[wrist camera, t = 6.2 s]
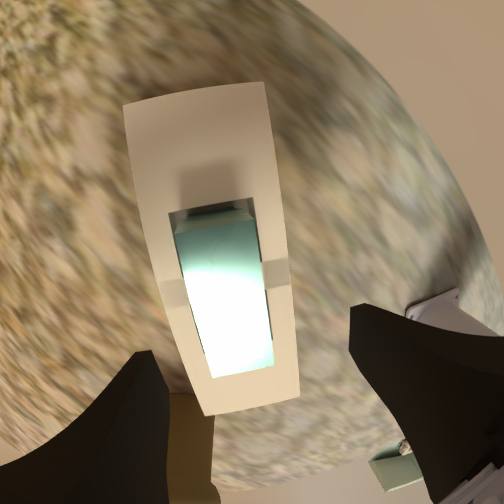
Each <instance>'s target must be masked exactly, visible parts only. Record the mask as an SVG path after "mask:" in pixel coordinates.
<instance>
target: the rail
mask: <svg viewBox="0 0 504 504" xmlns="http://www.w3.org/2000/svg"><path fill="white" fill-rule="evenodd" d="M123 114H124V123H125V131H126V139H127V146H128V152H129V159H130V165H131V171H132V177H133V182H134V188H135V193H136V198H137V203H138V208H139V213H140V217H141V222H142V226H143V231H144V235H145V239H146V243H147V247H148V251H149V255H150V259H151V263H152V267H153V270H154V274H155V278H156V281H157V285H158V288H159V291H160V295H161V298H162V301H163V305H164V308H165V311H166V314H167V317H168V321H169V324H170V327H171V330H172V333H173V336H174V338H175V341H176V344H177V347H178V350H179V353H180V355H181V358H182V361H183V364H184V366H185V369H186V371H187V374H188V377H189V379H190V382H191V384H192V387H193V389H194V392H195V394H196V397H197V399H198V401H199V404H200V406H201V408H202V411H203V413H204V415H205V416H211V415H217V414H223V413H229V412H234V411H239V410H244V409H249V408H254V407H259V406H263V405H267V404H271V403H276V402H280V401H283V400H287V399H291V398H295V397H298V396H300V388H299V373H298V359H297V345H296V333H295V321H294V310H293V299H292V288H291V278H290V268H289V259H288V250H287V241H286V232H285V224H284V216H283V207H282V200H281V192H280V184H279V177H278V170H277V162H276V155H275V148H274V142H273V135H272V128H271V122H270V116H269V109H268V103H267V97H266V91H265V85H264V81H261V82H248V83H237V84H228V85H220V86H213V87H206V88H199V89H193V90H188V91H182V92H177V93H172V94H167V95H163V96H158V97H154V98H150V99H145V100H141V101H138V102H134V103H130V104H127V105H123ZM231 206H234V207H235V209H239V208H243V209H244V210H245V211H246V212H247V213H248V214H249V215H251V216H252V217H253V218H254V222H255V229H256V236H257V243H258V249H259V256H260V263H261V270H262V277H263V284H264V291H265V298H266V305H267V312H268V319H269V326H270V334H271V341H272V348H273V355H274V362H275V365H273V366H268V367H264V368H260V369H255V370H251V371H246V372H241V373H236V374H231V375H226V376H221V377H215V378H213V377H212V374H211V370H210V367H209V364H208V361H207V358H206V355H205V351H204V348H203V345H202V341H201V338H200V335H199V331H198V328H197V324H196V321H195V317H194V313H193V310H192V306H191V302H190V299H189V295H188V291H187V287H186V283H185V279H184V275H183V271H182V267H181V263H180V259H179V254H178V250H177V246H176V241H175V237H174V233H175V230H176V228H177V226H178V223H179V221H180V220H181V219H186V218H187V215H188V214H193V213H199V212H204V211H209V210H214V209H220V208H225V207H231Z"/></svg>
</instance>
